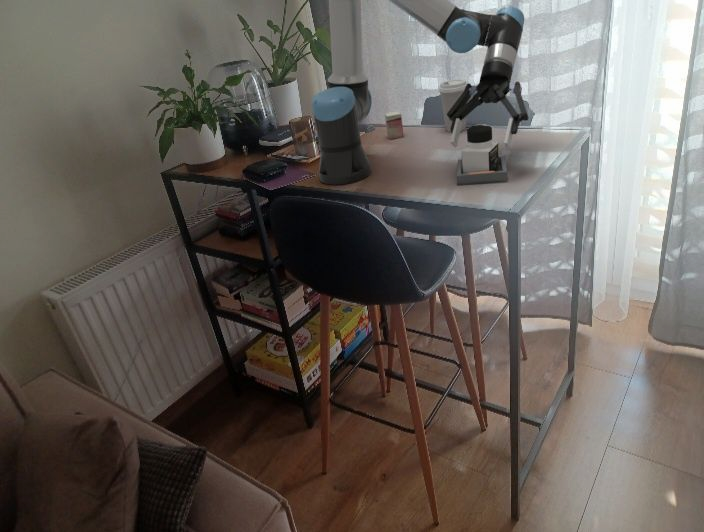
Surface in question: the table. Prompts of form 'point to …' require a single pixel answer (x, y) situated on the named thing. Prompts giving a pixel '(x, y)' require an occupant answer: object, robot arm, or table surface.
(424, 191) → the table surface
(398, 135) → the small box
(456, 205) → the table surface
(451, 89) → the coffee cup
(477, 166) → the medicine bottle
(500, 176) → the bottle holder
